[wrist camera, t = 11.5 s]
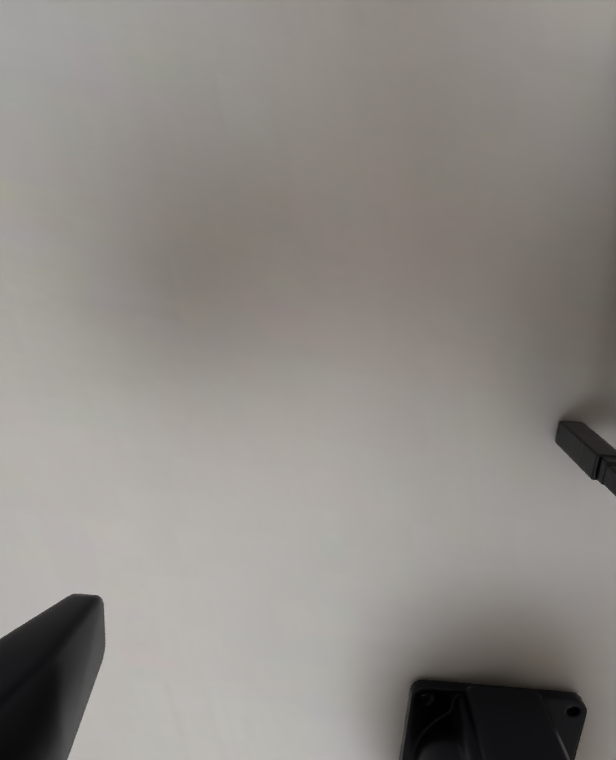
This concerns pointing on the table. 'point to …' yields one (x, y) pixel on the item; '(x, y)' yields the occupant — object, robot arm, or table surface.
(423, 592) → the table surface
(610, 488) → the rack
